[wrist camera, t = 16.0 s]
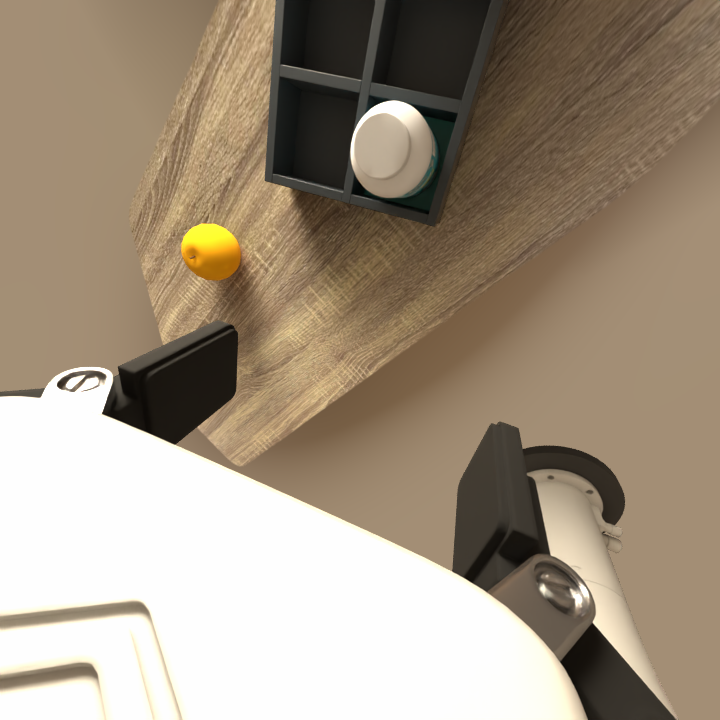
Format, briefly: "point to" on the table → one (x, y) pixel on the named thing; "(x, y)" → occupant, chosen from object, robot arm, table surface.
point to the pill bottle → (394, 151)
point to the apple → (211, 252)
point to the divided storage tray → (373, 88)
